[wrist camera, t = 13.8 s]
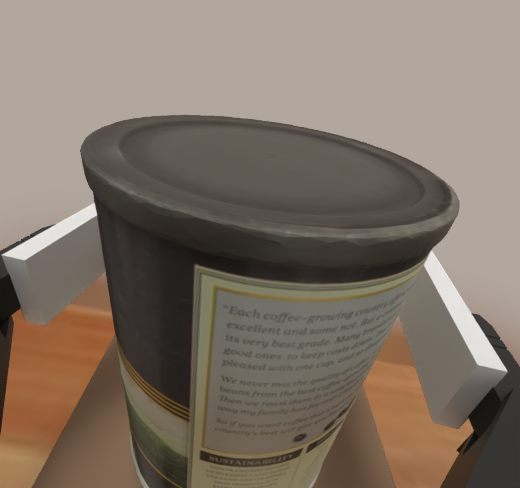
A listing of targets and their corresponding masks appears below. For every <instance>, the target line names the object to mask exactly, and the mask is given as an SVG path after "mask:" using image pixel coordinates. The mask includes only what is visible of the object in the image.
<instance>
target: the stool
mask: <svg viewBox="0 0 520 488" xmlns="http://www.w3.org/2000/svg"><path fill="white" fill-rule="evenodd" d="M130 434H131V431H130V425H129V418H128V411H127V406H126V400H125V392H124V386H123V379H122V375H121V367H120V360H119V353H118V347H117V340H116V334H115V336H114V338H113V339H112V341H111V343H110V345H109V347H108V349H107V350H106V352H105V354H104V356H103V358H102V360H101V361H100V363H99V365H98V367H97V369H96V371H95V373H94V374H93V376H92V378H91V380H90V382H89V384H88V385H87V387H86V389H85V391H84V393H83V395H82V396H81V398H80V400H79V402H78V404H77V406H76V407H75V409H74V411H73V413H72V415H71V417H70V419H69V420H68V422H67V424H66V426H65V428H64V430H63V431H62V433H61V435H60V437H59V439H58V441H57V442H56V444H55V446H54V448H53V450H52V452H51V454H50V455H49V457H48V459H47V461H46V463H45V465H44V466H43V468H42V470H41V472H40V474H39V476H38V477H37V479H36V481H35V483H34V485H33V487H32V488H144V487H143V486H142V484H141V482H140V479H139V477H138V474H137V472H136V469H135V466H134V462H133V458H132V453H131V442H130ZM312 488H396V487H395V484H394V481H393V478H392V475H391V471H390V468H389V465H388V462H387V459H386V456H385V453H384V449H383V446H382V443H381V440H380V437H379V434H378V431H377V427H376V424H375V421H374V418H373V415H372V412H371V409H370V406H369V402H368V399H367V396H366V393H365V390H364V387H363V385H362V387H361V389H360V391H359V393H358V395H357V396H356V399H355V401H354V403H353V405H352V406H351V408H350V410H349V412H348V414H347V416H346V418H345V420H344V422H343V424H342V426H341V428H340V430H339V432H338V434H337V436H336V438H335V440H334V442H333V444H332V446H331V448H330V450H329V451H328V453H327V455H326V457H325V459H324V461H323V464H322V467H321V470H320V473H319V475H318V477H317V480H316V482H315V483H314V485H313V487H312Z"/></svg>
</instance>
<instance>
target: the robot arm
mask: <svg viewBox="0 0 520 488" xmlns="http://www.w3.org/2000/svg"><path fill="white" fill-rule="evenodd" d="M104 272H105V265H104V259H103V252H102V245H101V239H100V233H99V226H98V219H97V212H96V207H95V203H93V204H92V205H90V206H88V207H86V208H84V209H83V210H81V211H79V212H77V213H76V214H74V215H72V216H70V217H68V218H67V219H65V220H63V221H61V222H60V223H58V224H55V225H52V226H48V227H45V228H42V229H40V230H38V231H36V232H34V233H32V234H31V235H30V236H27V237H25V238H23V239H21V241H18V242H16V243H14V244H12V245H10V246H9V247H7V248H5V249H3V250H1V251H0V433H1V425H2V417H3V408H4V400H5V392H6V384H7V375H8V367H9V359H10V351H11V342H12V334H13V326H14V322H13V318H12V316H11V315H12V314H14V313H15V312H16V311H17V310H19V309H20V308H21V311H22V314H23V317H24V320H25V321H27V322H31V323H35V324H39V325H43V326H46V325H47V324H48V323H49V322H50V321H51V320H52V319H53V318H55V317H56V316H57V315H58V314H59V313H60V312H61V311H62V310H63V309H64V308H66V307H67V306H68V305H69V304H70V303H71V302H72V301H73V300H74V299H75V298H77V297H78V296H79V295H80V294H81V293H82V292H83V291H84V290H85V289H86V288H88V287H89V286H90V285H91V284H92V283H93V282H94V281H95V280H96V279H97V278H99V277H100V276H101V275H102V274H103V273H104ZM398 315H399V318H400V321H401V324H402V327H403V331H404V334H405V337H406V340H407V343H408V346H409V349H410V352H411V355H412V359H413V362H414V365H415V368H416V371H417V374H418V377H419V380H420V384H421V387H422V390H423V393H424V396H425V399H426V402H427V405H428V408H429V412H430V415H431V418H432V421H433V423H436V424H440V425H444V426H448V427H452V428H456V429H459V428H460V427H461V426H462V425H463V424H464V422H465V421H466V420H467V419H468V418H469V420H470V422H471V425H472V427H473V429H474V432H473V433H472V434H471V435H470V436H469V437H468V438H467V439H466V440H465V441H464V443H463V444H462V445H461V446H460V447H459V448H458V449H457V451H458V452H459V455H458V457H457V458H456V460H455V462H454V464H453V465H452V467H451V469H450V471H449V473H448V474H447V476H446V478H445V480H444V481H443V483H442V485H441V487H440V488H520V367H519V365H518V364H517V362H516V361H515V359H514V358H513V356H512V355H511V353H510V352H509V351H508V350H507V347H506V346H505V344H504V343H503V342H502V340H500V337H499V336H498V334H497V333H496V331H495V330H494V328H493V327H492V326H491V325H490V324H489V323H488V322H487V321H486V320H485V319H483V318H482V317H481V316H480V315H477V314H472V313H471V312H470V311H469V309H468V307H467V306H466V304H465V303H464V301H463V300H462V298H461V297H460V295H459V293H458V292H457V290H456V288H455V287H454V285H453V284H452V282H451V280H450V279H449V277H448V276H447V274H446V272H445V271H444V269H443V268H442V266H441V265H440V263H439V261H438V260H437V258H436V257H435V255H434V253H433V252H432V250H431V252H430V254H429V256H428V258H427V260H426V262H425V264H424V266H423V268H422V270H421V271H420V273H419V275H418V277H417V279H416V281H415V283H414V285H413V287H412V289H411V291H410V293H409V295H408V297H407V299H406V301H405V303H404V305H403V307H402V309H401V311H400V312H399V314H398Z"/></svg>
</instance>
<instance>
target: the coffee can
mask: <svg viewBox="0 0 520 488" xmlns="http://www.w3.org/2000/svg"><path fill="white" fill-rule="evenodd" d="M80 152H81V157H82V162H83V168H84V172H85V176H86V179H87V182H88V185H89V187H90V188H91V190H92V191H93V195H94V202H95V207H96V212H97V219H98V226H99V233H100V239H101V245H102V252H103V259H104V265H105V271H106V276H107V283H108V290H109V296H110V303H111V308H112V315H113V322H114V329H115V334H116V340H117V347H118V353H119V360H120V367H121V375H122V379H123V386H124V392H125V400H126V406H127V411H128V418H129V425H130V431H131V434H130V442H131V453H132V458H133V462H134V466H135V469H136V472H137V474H138V477H139V479H140V482H141V484H142V486H143V487H144V488H312V487H313V485H314V483H315V482H316V480H317V477H318V475H319V473H320V470H321V467H322V464H323V461H324V459H325V457H326V455H327V453H328V451H329V450H330V448H331V446H332V444H333V442H334V440H335V438H336V436H337V434H338V432H339V430H340V428H341V426H342V424H343V422H344V420H345V418H346V416H347V414H348V412H349V410H350V408H351V406H352V405H353V403H354V401H355V399H356V396H357V395H358V393H359V391H360V389H361V387H362V385H363V383H364V381H365V379H366V377H367V375H368V373H369V371H370V369H371V367H372V365H373V363H374V361H375V359H376V357H377V355H378V354H379V352H380V350H381V348H382V346H383V344H384V342H385V340H386V338H387V336H388V334H389V332H390V330H391V328H392V326H393V324H394V322H395V320H396V318H397V316H398V314H399V312H400V311H401V309H402V307H403V305H404V303H405V301H406V299H407V297H408V295H409V293H410V291H411V289H412V287H413V285H414V283H415V281H416V279H417V277H418V275H419V273H420V271H421V270H422V268H423V266H424V264H425V262H426V260H427V258H428V256H429V254H430V252H431V250H432V248H433V247H434V246H435V245H436V244H438V243H439V242H440V241H441V240H442V239H443V238H444V237H445V235H446V234H447V233H448V231H449V229H450V227H451V226H452V224H453V222H454V220H455V218H456V217H457V215H458V212H459V200H458V197H457V195H456V193H455V192H454V191H453V189H452V188H451V187H450V186H449V185H448V184H447V183H446V182H445V181H443V180H442V179H440V178H439V177H438V176H436V175H435V174H434V173H432V172H431V171H429V170H427V169H426V168H424V167H422V166H420V165H418V164H416V163H414V162H412V161H410V160H408V159H407V158H404V157H402V156H399V155H397V154H395V153H392V152H390V151H387V150H384V149H382V148H378V147H375V146H373V145H370V144H367V143H364V142H360V141H357V140H355V139H350V138H346V137H343V136H339V135H335V134H331V133H327V132H322V131H318V130H313V129H308V128H304V127H297V126H293V125H288V124H282V123H275V122H268V121H261V120H253V119H241V118H232V117H224V116H200V115H169V116H152V117H142V118H134V119H130V120H123V121H119V122H116V123H114V124H111V125H108V126H104V127H102V128H100V129H98V130H96V131H94V132H92V133H91V134H90V135H89V136H88V137H86V139H85V140H84V142H83V144H82V146H81V150H80Z"/></svg>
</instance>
